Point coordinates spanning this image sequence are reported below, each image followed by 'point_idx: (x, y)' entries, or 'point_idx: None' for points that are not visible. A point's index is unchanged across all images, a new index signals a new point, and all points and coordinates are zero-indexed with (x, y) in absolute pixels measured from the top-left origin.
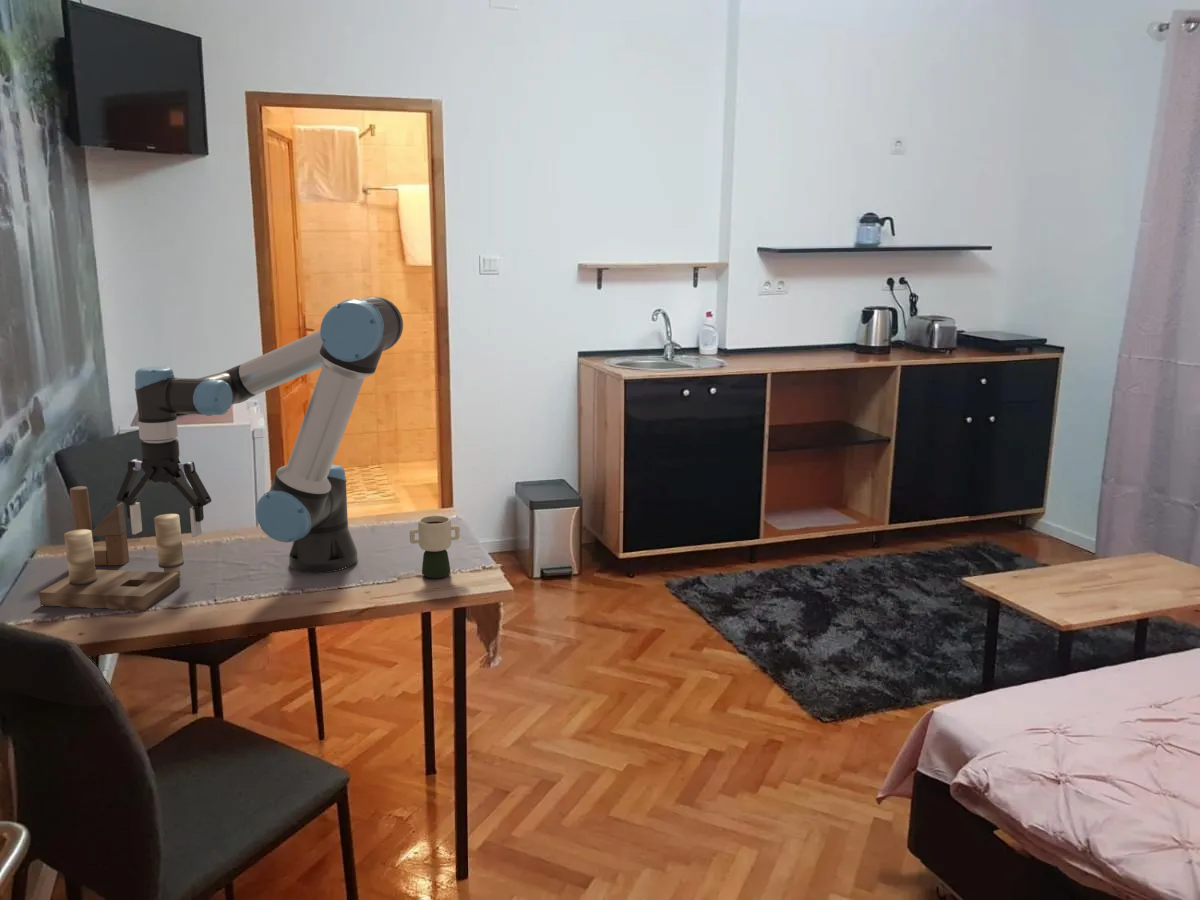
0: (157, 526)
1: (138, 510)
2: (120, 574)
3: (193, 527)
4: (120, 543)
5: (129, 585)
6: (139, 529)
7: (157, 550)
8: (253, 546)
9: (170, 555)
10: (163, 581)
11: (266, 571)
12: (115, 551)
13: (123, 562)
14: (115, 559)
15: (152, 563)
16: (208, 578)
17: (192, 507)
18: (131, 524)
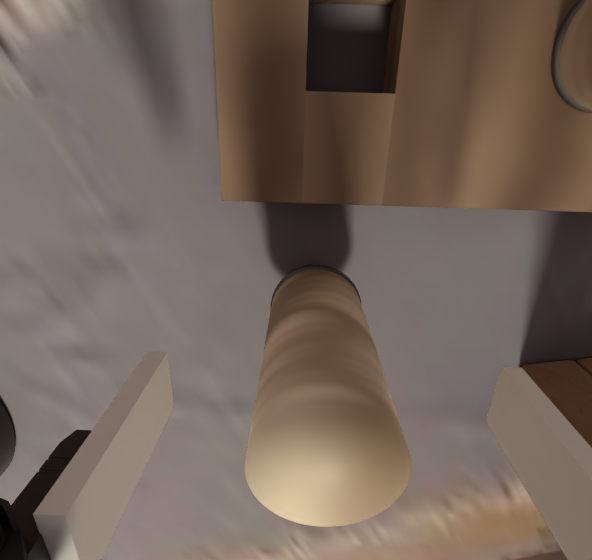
0: (360, 379)
1: (568, 529)
2: (465, 157)
3: (126, 389)
4: (573, 419)
5: (390, 85)
6: (498, 413)
7: (362, 315)
8: (201, 512)
9: (293, 293)
10: (225, 77)
11: (29, 342)
12: (574, 393)
13: (525, 370)
14: (558, 373)
15: (431, 384)
16: (176, 271)
17: (64, 538)
18: (556, 408)
